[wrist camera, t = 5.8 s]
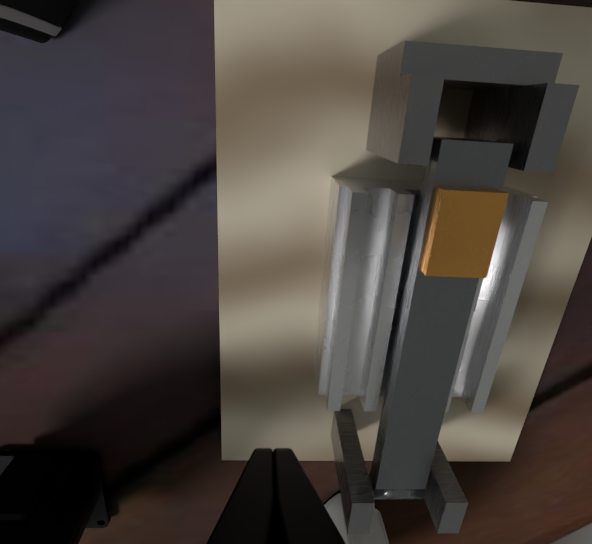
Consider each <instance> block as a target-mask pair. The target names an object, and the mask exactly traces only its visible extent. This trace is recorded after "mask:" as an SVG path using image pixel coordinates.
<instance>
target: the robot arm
mask: <svg viewBox="0 0 592 544" xmlns="http://www.w3.org/2000/svg"><path fill="white" fill-rule="evenodd" d="M110 519H111V515H110V510H109V504H108V498H107V492H106V487H105V481H104V475H103V470H102V464H101V458H100V455H99V454H98V453H96V452H93V451H0V544H78V543H79V541H80V539H81V537H82V534H83V532H84V530H85V528H104V527H107V526H108V524H109V522H110ZM207 544H346V543H345V541H344V540H343V538H342V536H341V534H340V532H339V531H338V529H337V527H336V525H335V524H334V522H333V520H332V518H331V517H330V515H329V513H328V511H327V510H326V508H325V506H324V504H323V503H322V501H321V499H320V497H319V496H318V494H317V492H316V490H315V489H314V487H313V485H312V483H311V482H310V480H309V478H308V476H307V475H306V473H305V471H304V469H303V468H302V466H301V464H300V462H299V461H298V459H297V457H296V455H295V453H294V452H293V450H292V449H290V448H275V449H274V450H272V449H271V448H256V449H254V451H253V452H252V454H251V456H250V458H249V460H248V462H247V464H246V466H245V468H244V470H243V472H242V474H241V476H240V478H239V480H238V482H237V484H236V486H235V488H234V490H233V492H232V494H231V496H230V498H229V500H228V502H227V504H226V506H225V508H224V510H223V512H222V514H221V516H220V518H219V520H218V522H217V524H216V526H215V528H214V530H213V532H212V534H211V536H210V538H209V540H208V542H207Z"/></svg>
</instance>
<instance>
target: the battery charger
mask: <svg viewBox="0 0 592 544" xmlns="http://www.w3.org/2000/svg"><path fill="white" fill-rule="evenodd" d="M75 3H76V0H0V30H1V31H5V32H8V33H11V34H14V35H18V36H21V37H24V38H27V39H31V40H34V41H36V42H39V43H45V42H47V41H48V40H50V38H51V37H52V36H57V34H58V33H59V32H60V31H61V29H62V28H61V25H62V24H63V22H64V21H65V20H66V19H67V18H68V16H69V15H70V13H71V11H72V8H73V6H74V5H75Z"/></svg>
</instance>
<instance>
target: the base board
mask: <svg viewBox="0 0 592 544" xmlns="http://www.w3.org/2000/svg"><path fill="white" fill-rule="evenodd" d="M214 20H215V80H216V141H217V201H218V261H219V322H220V382H221V443H222V460H249V458H250V456H251V454H252V452H253V451H254V449H256V448H271V449H272V450H274V449H275V448H290V449H292V450H293V452H294V453H295V455H296V457H297V459H298V460H299V461H335V458H334V452H333V446H332V440H331V429H332V421H333V413H334V411H327V407H326V401H325V396H324V395H318V390H317V383H316V377H315V370H314V356H315V345H316V334H317V324H318V313H319V302H320V291H321V281H322V270H323V259H324V248H325V237H326V227H327V216H328V205H329V194H330V183H331V176H334V177H352V178H370V179H389V180H407V181H423V177H424V171H425V167H423V166H420V165H411V164H397V163H395V162H393V161H390V160H388V159H386V158H383V157H381V156H379V155H376V154H374V153H372V152H369V151H367V150H366V144H367V136H368V128H369V120H370V112H371V103H372V95H373V87H374V79H375V71H376V63H377V56H378V55H380V54H381V53H383V52H385V51H387V50H389V49H391V48H392V47H394V46H396V45H398V44H400V43H402V42H403V41H417V42H429V43H442V44H455V45H467V46H480V47H493V48H505V49H518V50H531V51H543V52H556V53H563V55H562V59H561V62H560V66H559V70H558V73H557V77H556V80H555V83H558V84H571V85H579V89H578V92H577V95H576V99H575V102H574V105H573V108H572V112H571V115H570V118H569V122H568V125H567V128H566V131H565V135H564V138H563V141H562V145H561V148H560V151H559V154H558V158H557V161H556V164H555V168H554V171H553V173H551V172H533V171H522V170H518V169H514V168H509V167H508V168H507V172H506V176H505V180H504V184H503V186H507V187H510V188H513V189H516V190H519V191H522V192H525V193H529V194H532V195H535V196H537V198H538V199H541V200H544V201H547V202H548V204H547V207H546V211H545V214H544V217H543V220H542V224H541V227H540V230H539V233H538V237H537V240H536V243H535V246H534V249H533V253H532V256H531V259H530V262H529V266H528V269H527V272H526V275H525V279H524V282H523V285H522V288H521V292H520V295H519V298H518V301H517V305H516V308H515V311H514V314H513V318H512V321H511V324H510V327H509V331H508V334H507V337H506V340H505V344H504V347H503V350H502V353H501V357H500V360H499V363H498V366H497V370H496V373H495V376H494V379H493V383H492V386H491V389H490V392H489V395H488V399H487V402H486V405H485V408H484V412H483V413H471V412H470V411H469V409H468V408H467V406H466V404H465V403H464V401H463V400H462V398H461V397H452V399H451V403H450V407H449V411H448V412H445V414H444V418H443V422H442V425H441V429H440V433H439V437H438V442H439V444H440V446H441V448H442V450H443V452H444V454H445V456H446V459H447V461H510V460H511V457H512V455H513V452H514V449H515V446H516V444H517V441H518V438H519V435H520V433H521V430H522V427H523V424H524V422H525V419H526V416H527V413H528V411H529V408H530V405H531V402H532V400H533V397H534V394H535V391H536V388H537V386H538V383H539V380H540V377H541V375H542V372H543V369H544V366H545V364H546V361H547V358H548V355H549V353H550V350H551V347H552V344H553V342H554V339H555V336H556V333H557V331H558V328H559V325H560V322H561V320H562V317H563V314H564V311H565V309H566V306H567V303H568V300H569V298H570V295H571V292H572V289H573V287H574V284H575V281H576V278H577V276H578V273H579V270H580V267H581V265H582V262H583V259H584V256H585V254H586V251H587V248H588V245H589V243H590V240H591V237H592V8H590V7H579V6H568V5H556V4H545V3H533V2H522V1H511V0H214ZM472 95H473V91H472V90H458V89H444V88H443V89H442V94H441V100H440V105H439V111H438V116H437V121H436V127H435V132H434V137H450V138H463V137H464V133H465V128H466V123H467V119H468V114H469V109H470V104H471V100H472ZM383 400H384V396H379V400H378V406H377V411H364V410H363V407H362V404H361V400H360V397H359V395H342V400H341V408H340V409H351V410H352V414H353V418H354V422H355V426H356V430H357V434H358V438H359V442H360V446H361V450H362V453H363V457H364V461H373V456H374V450H375V445H376V439H377V433H378V428H379V422H380V417H381V411H382V406H383Z"/></svg>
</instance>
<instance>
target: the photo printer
mask: <svg viewBox="0 0 592 544" xmlns="http://www.w3.org/2000/svg"><path fill="white" fill-rule="evenodd" d="M324 506H325V508H326V510H327V511H328V513H329V515H330V517H331V518H332V520H333V522H334V524H335V525H336V527H337V529H338V531H339V532H340V534H341V536H342V538H343V540H344V541H345V543H346V544H389V542H388V538H387V535H386V531H385V527H384V523H383V520H382V517H381V514H380V512H379V511H378V510H377V509H375V506H374V511H373V517H372V522H371V527H370V532H369V534H347V529H346V523H345V517H344V511H343V505H342V499H341V493H338V494H337V495H335V496H334V497H333V498H331V499H330V500H329V501H328V502H327V503H326V504H325V505H324Z"/></svg>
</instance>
